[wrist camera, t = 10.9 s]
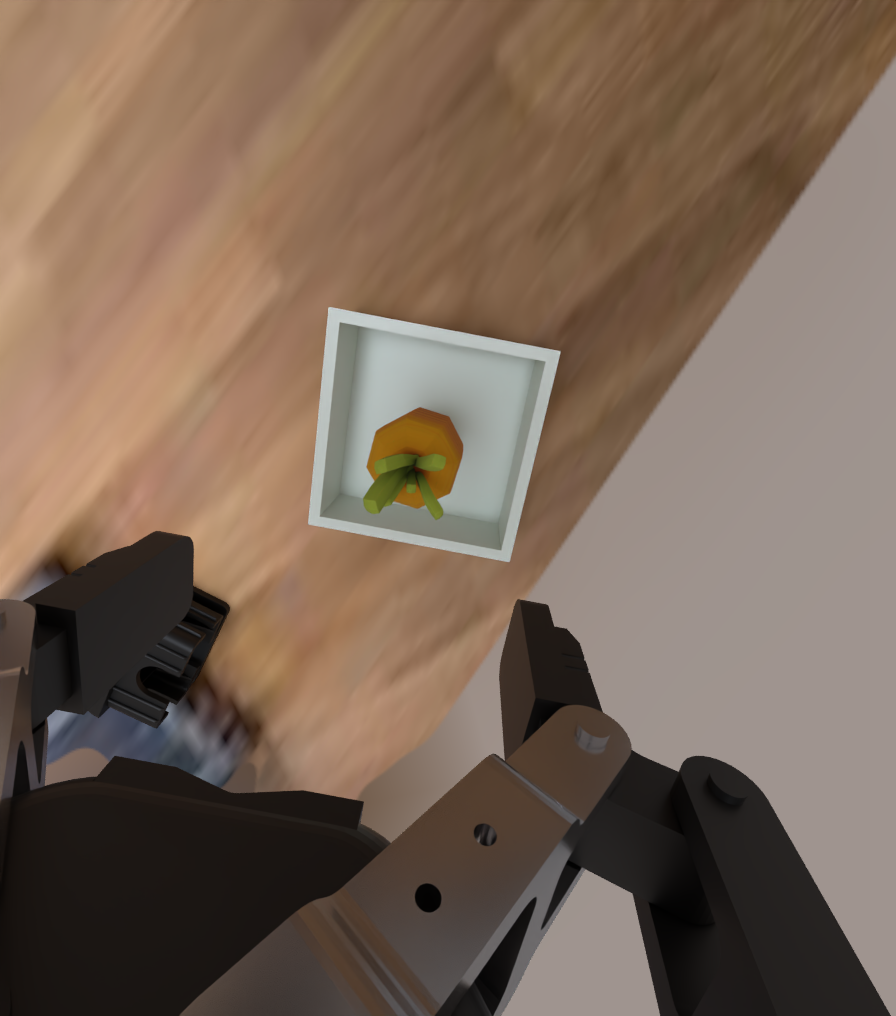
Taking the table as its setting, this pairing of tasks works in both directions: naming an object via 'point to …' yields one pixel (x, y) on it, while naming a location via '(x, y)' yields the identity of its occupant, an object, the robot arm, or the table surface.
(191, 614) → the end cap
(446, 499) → the bin
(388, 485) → the carrot
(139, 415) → the table surface
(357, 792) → the table surface
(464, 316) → the table surface
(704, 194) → the table surface
